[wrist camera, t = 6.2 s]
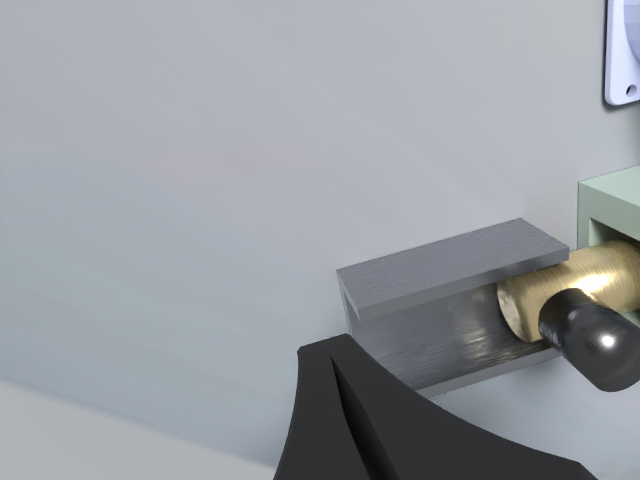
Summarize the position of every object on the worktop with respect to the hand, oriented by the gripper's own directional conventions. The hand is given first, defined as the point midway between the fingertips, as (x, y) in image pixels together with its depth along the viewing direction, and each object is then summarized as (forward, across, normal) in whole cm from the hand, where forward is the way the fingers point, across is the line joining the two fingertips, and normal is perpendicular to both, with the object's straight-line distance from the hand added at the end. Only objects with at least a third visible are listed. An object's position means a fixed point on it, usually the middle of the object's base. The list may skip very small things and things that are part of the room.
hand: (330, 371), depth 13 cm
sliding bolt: (+8, -14, +5) cm, 17 cm away
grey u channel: (+9, -6, +5) cm, 12 cm away
